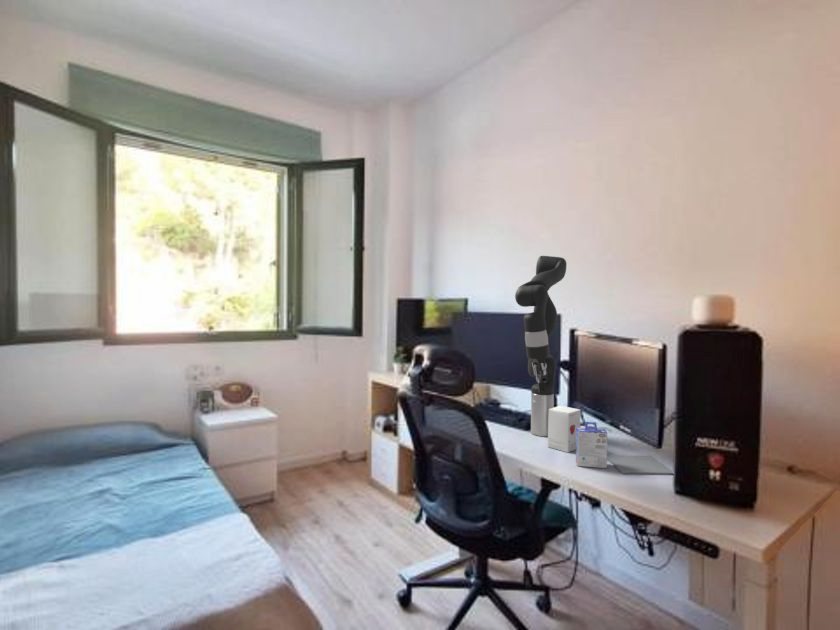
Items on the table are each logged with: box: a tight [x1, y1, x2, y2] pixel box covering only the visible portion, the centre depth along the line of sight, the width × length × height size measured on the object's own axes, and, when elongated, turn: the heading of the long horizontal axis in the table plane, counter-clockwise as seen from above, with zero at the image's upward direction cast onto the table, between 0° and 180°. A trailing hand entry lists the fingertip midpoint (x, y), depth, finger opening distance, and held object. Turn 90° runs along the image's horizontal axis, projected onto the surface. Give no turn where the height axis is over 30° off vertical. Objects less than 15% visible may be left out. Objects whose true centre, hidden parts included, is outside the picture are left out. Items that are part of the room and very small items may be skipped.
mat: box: [607, 454, 674, 475], centre depth 157 cm, size 16×17×1 cm
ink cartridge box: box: [575, 421, 608, 469], centre depth 157 cm, size 10×6×14 cm, turn 78°
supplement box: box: [547, 405, 582, 453], centre depth 175 cm, size 9×9×15 cm
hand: (542, 392), depth 157 cm, fingers closed
